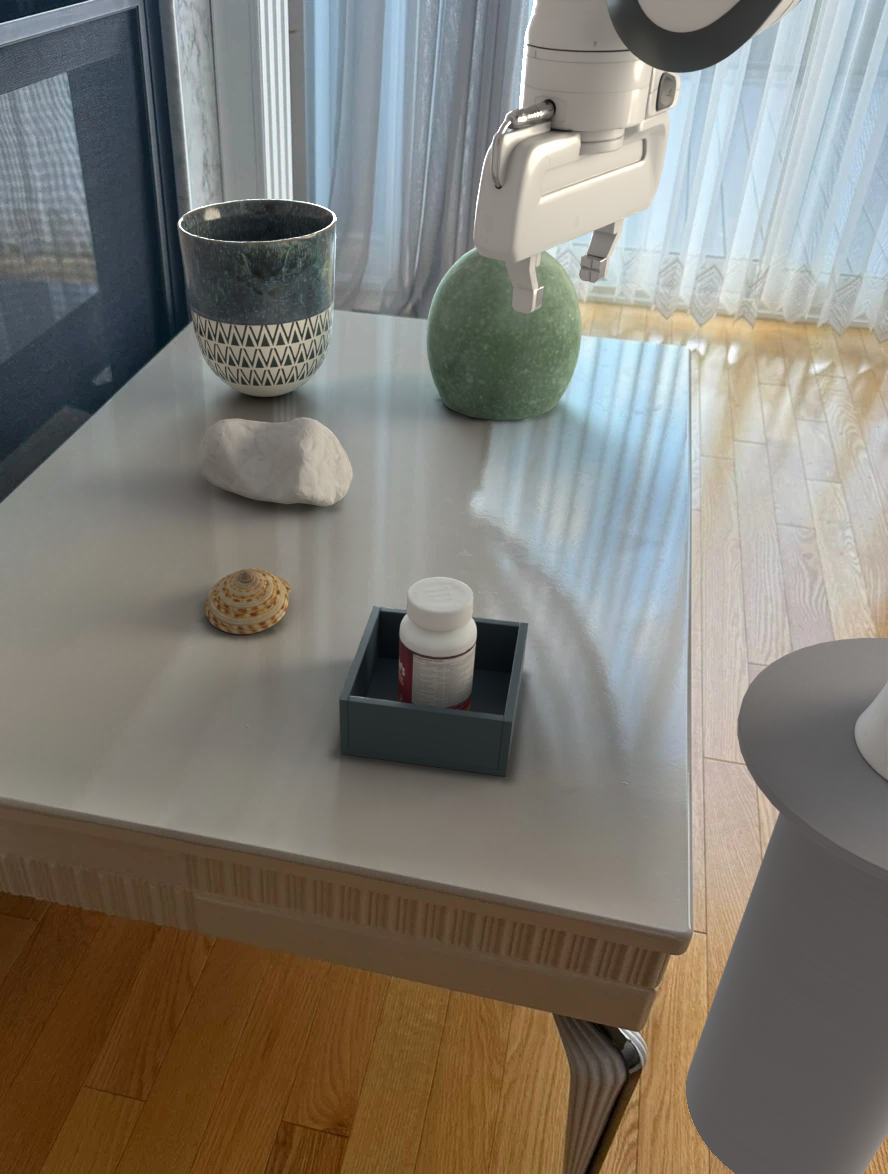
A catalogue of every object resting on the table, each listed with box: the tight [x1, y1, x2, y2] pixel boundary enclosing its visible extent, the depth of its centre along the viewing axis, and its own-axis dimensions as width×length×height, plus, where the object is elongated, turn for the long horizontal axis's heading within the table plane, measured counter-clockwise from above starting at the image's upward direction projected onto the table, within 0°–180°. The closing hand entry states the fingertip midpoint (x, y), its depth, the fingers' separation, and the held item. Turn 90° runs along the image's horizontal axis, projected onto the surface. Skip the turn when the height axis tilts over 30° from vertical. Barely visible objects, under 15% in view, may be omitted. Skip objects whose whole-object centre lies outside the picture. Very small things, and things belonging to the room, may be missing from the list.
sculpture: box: [425, 247, 583, 421], centre depth 132 cm, size 19×16×20 cm
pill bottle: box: [398, 576, 477, 711], centre depth 84 cm, size 6×6×11 cm
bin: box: [338, 605, 529, 777], centre depth 87 cm, size 13×13×6 cm
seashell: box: [204, 567, 292, 635], centre depth 100 cm, size 8×6×8 cm
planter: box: [176, 198, 337, 398], centre depth 135 cm, size 20×20×21 cm
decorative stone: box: [197, 416, 354, 508], centre depth 117 cm, size 17×10×10 cm
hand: (560, 294), depth 82 cm, fingers open, 8 cm apart
